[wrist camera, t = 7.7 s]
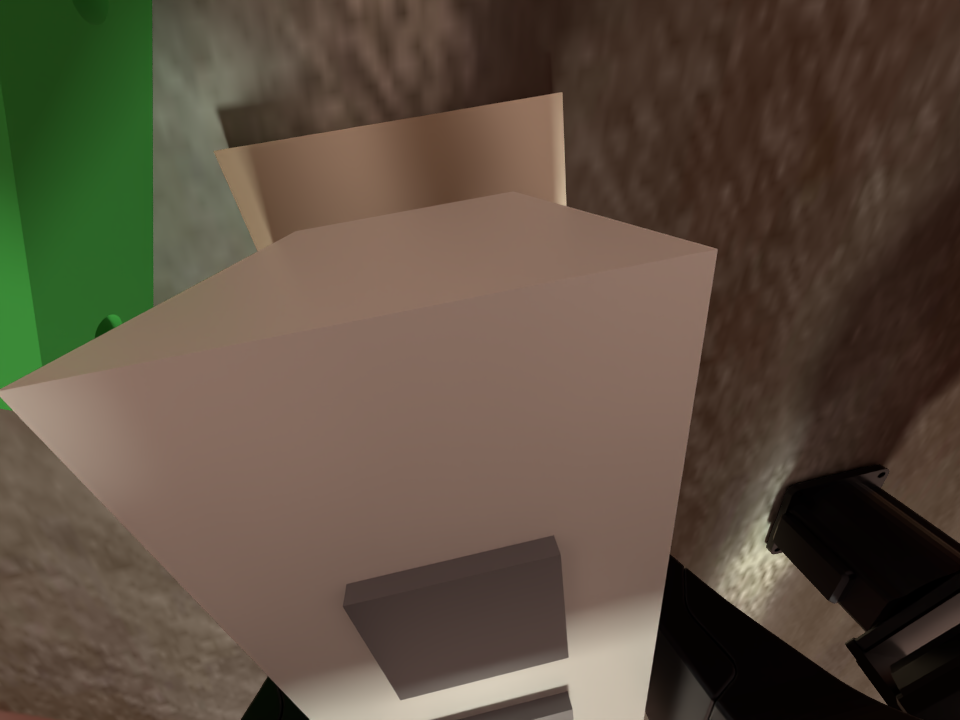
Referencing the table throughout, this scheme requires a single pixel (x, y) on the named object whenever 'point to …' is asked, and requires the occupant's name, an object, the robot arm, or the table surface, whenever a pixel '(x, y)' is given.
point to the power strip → (410, 454)
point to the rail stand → (398, 166)
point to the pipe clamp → (73, 175)
